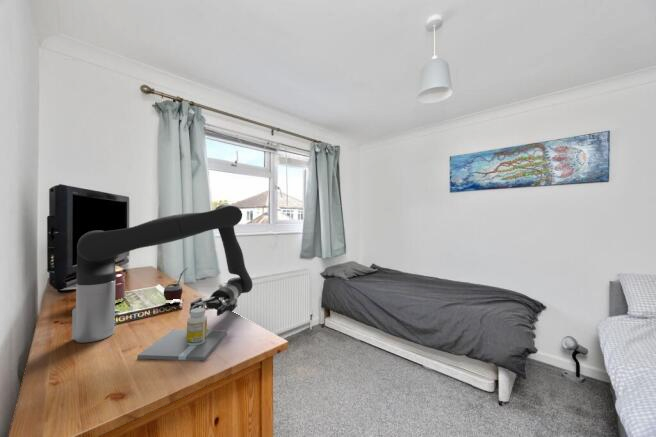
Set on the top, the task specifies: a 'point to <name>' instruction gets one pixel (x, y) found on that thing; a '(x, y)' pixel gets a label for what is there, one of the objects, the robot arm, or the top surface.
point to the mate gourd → (173, 290)
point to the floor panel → (182, 346)
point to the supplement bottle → (196, 327)
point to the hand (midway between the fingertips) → (204, 312)
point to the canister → (119, 283)
